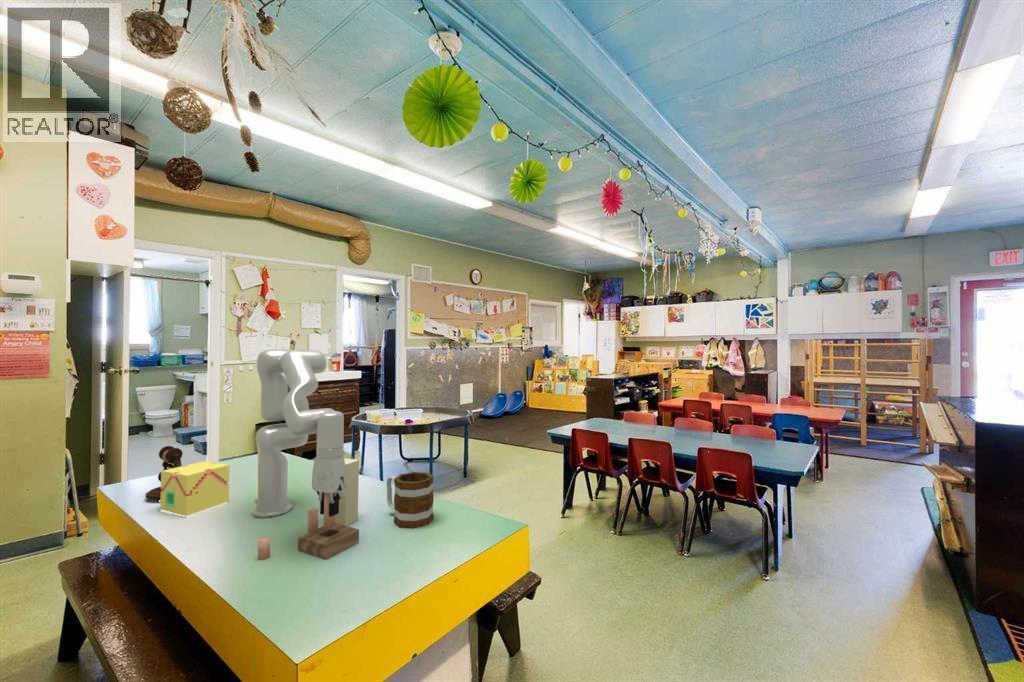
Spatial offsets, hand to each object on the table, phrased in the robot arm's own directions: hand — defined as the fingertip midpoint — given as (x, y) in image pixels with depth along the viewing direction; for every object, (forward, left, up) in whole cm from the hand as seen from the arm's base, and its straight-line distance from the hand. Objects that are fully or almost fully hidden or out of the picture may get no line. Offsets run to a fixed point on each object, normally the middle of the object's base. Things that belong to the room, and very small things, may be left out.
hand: (329, 513), depth 127 cm
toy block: (-71, -1, -10) cm, 72 cm away
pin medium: (-11, +3, -10) cm, 15 cm away
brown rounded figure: (-94, +1, -10) cm, 95 cm away
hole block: (0, 0, -10) cm, 10 cm away
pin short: (-11, -13, -10) cm, 20 cm away
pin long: (0, 0, -4) cm, 4 cm away
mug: (+7, +27, -10) cm, 30 cm away
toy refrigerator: (-11, +15, -10) cm, 21 cm away
